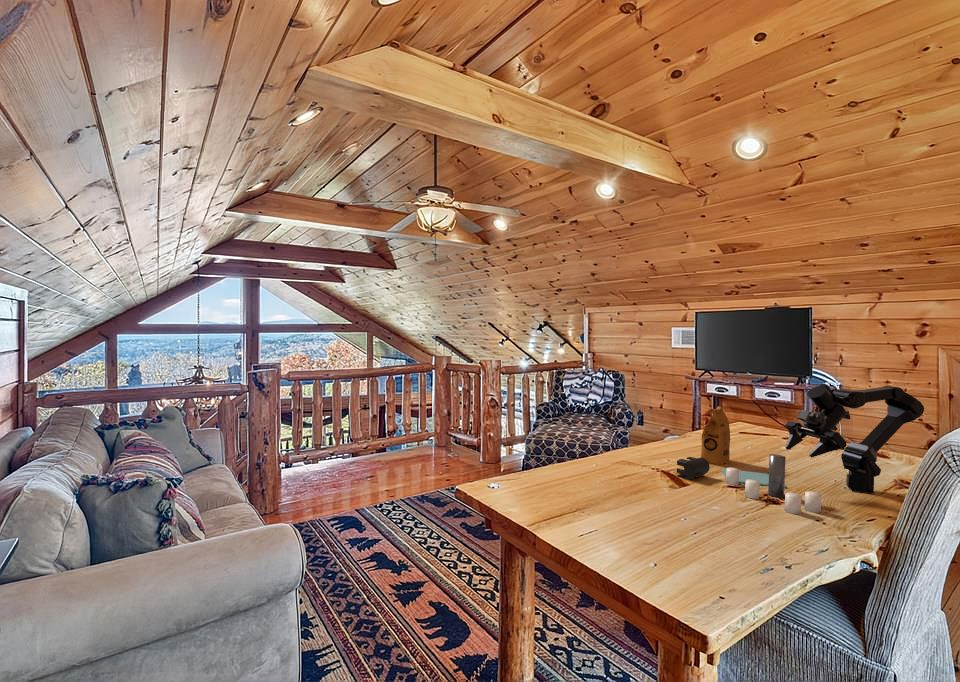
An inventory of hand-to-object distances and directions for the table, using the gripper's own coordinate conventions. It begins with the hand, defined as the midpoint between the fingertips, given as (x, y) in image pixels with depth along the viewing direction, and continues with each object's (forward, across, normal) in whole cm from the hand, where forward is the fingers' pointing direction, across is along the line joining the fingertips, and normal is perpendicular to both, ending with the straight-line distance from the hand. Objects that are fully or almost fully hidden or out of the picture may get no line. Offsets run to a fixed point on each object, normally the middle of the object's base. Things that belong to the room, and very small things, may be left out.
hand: (798, 452), depth 154 cm
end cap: (+27, -20, -7) cm, 34 cm away
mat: (+12, -16, +8) cm, 21 cm away
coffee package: (+11, -38, +9) cm, 40 cm away
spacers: (+18, 0, +1) cm, 18 cm away
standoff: (+15, 0, +4) cm, 16 cm away
